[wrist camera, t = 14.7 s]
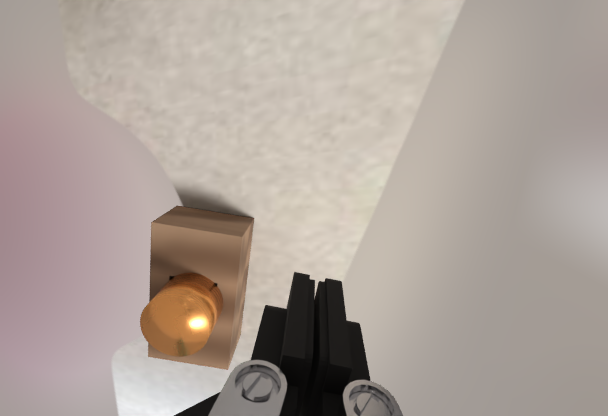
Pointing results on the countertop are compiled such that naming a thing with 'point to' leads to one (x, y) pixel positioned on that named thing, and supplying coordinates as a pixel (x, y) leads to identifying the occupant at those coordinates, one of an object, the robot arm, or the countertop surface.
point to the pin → (182, 315)
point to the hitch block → (204, 271)
